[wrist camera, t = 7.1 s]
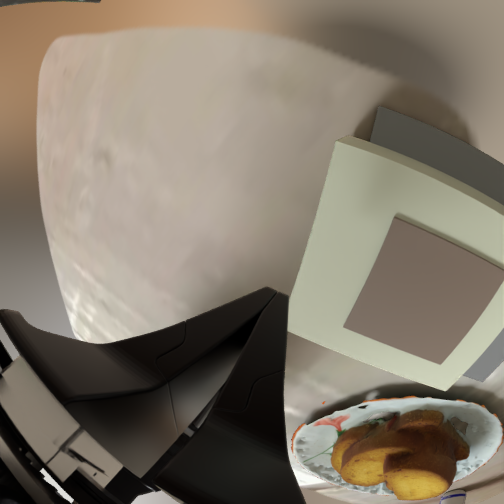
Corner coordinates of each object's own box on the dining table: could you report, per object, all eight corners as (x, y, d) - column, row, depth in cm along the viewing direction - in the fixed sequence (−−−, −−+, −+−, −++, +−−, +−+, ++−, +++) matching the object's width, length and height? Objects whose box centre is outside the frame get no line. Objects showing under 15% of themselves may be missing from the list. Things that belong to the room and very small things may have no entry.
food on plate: (267, 432, 32) (244, 470, 27) (403, 340, 17) (394, 416, 12) (394, 487, 28) (383, 520, 23) (530, 427, 13) (531, 474, 8)
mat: (482, 378, 15) (482, 382, 14) (310, 312, 19) (309, 315, 19) (582, 228, 7) (585, 230, 7) (378, 106, 12) (378, 105, 11)
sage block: (302, 288, 18) (443, 345, 15) (278, 330, 15) (445, 393, 12) (348, 135, 13) (521, 217, 9) (334, 141, 9) (553, 251, 6)
